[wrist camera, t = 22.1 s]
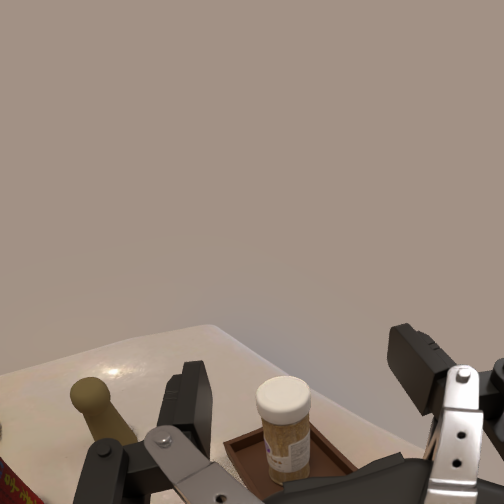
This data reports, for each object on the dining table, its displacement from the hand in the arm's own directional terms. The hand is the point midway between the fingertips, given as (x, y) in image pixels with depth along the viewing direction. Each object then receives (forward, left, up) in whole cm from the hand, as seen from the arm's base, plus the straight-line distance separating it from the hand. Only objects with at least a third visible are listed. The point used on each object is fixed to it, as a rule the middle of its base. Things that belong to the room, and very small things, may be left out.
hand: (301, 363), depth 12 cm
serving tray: (+8, -3, -24) cm, 25 cm away
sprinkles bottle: (+8, -3, -23) cm, 25 cm away
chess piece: (+22, +15, -24) cm, 36 cm away
